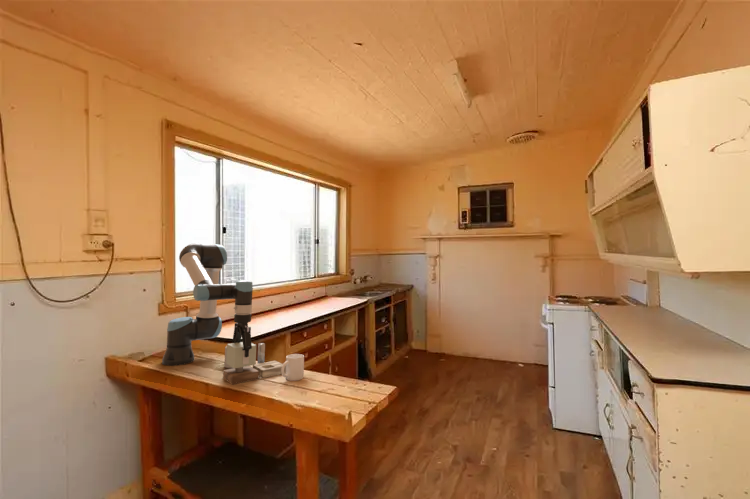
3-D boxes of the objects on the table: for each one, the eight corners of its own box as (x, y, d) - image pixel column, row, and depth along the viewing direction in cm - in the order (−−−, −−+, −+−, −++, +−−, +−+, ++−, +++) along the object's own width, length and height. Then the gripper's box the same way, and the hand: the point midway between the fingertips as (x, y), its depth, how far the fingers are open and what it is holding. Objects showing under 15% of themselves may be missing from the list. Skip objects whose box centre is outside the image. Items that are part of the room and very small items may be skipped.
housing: (226, 363, 161) (227, 343, 161) (247, 359, 168) (248, 341, 168) (233, 368, 154) (234, 348, 154) (255, 364, 160) (256, 345, 161)
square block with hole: (252, 371, 170) (252, 364, 170) (275, 367, 178) (275, 360, 178) (262, 377, 161) (263, 370, 161) (286, 372, 169) (286, 365, 169)
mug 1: (231, 369, 174) (232, 349, 174) (219, 366, 178) (220, 346, 179) (249, 364, 183) (249, 345, 184) (237, 361, 188) (238, 343, 188)
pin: (256, 367, 178) (257, 343, 179) (262, 365, 180) (263, 342, 181) (259, 368, 175) (259, 344, 176) (265, 367, 178) (266, 343, 178)
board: (223, 377, 160) (224, 352, 161) (248, 372, 168) (249, 349, 169) (232, 384, 152) (233, 358, 152) (258, 378, 160) (259, 353, 160)
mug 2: (286, 384, 153) (287, 361, 153) (275, 380, 158) (275, 357, 158) (307, 377, 162) (307, 355, 163) (295, 374, 167) (296, 352, 168)
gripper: (226, 311, 167) (224, 357, 167) (244, 317, 151) (242, 368, 150) (241, 309, 172) (239, 354, 172) (260, 316, 156) (258, 365, 155)
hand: (241, 361), depth 161 cm, fingers closed on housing, 10 cm apart
